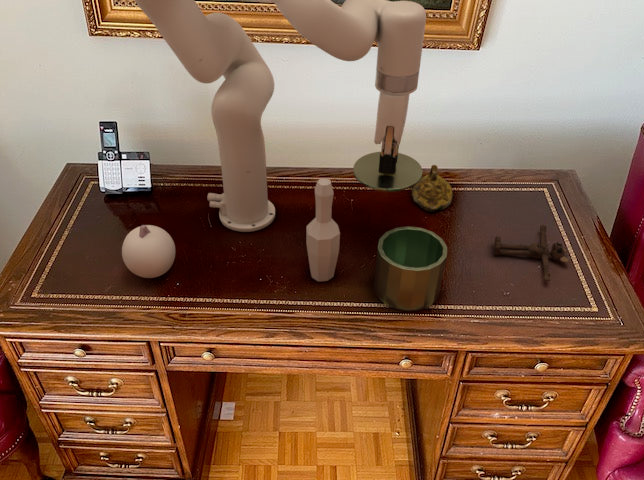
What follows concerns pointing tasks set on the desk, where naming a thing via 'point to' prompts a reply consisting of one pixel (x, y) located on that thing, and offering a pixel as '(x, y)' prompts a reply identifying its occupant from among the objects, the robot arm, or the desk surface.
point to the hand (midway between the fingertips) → (387, 166)
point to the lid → (403, 178)
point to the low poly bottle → (323, 234)
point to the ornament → (148, 251)
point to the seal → (432, 192)
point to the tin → (409, 268)
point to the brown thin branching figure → (534, 251)
